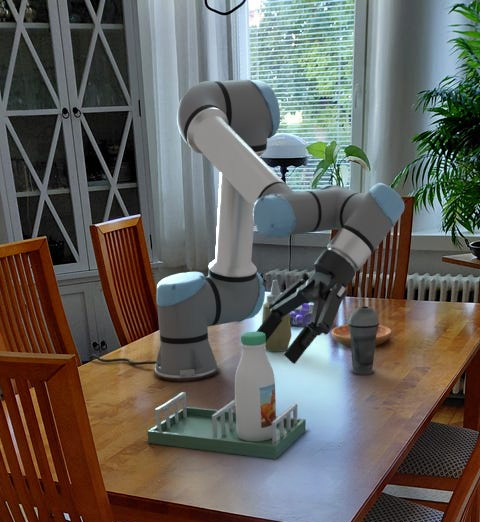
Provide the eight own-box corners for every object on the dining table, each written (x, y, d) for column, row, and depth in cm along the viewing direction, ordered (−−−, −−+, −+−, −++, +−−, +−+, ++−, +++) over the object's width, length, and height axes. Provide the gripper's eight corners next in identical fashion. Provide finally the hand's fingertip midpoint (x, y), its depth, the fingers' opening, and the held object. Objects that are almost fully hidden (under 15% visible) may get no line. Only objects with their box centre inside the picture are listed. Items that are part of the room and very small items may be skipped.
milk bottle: (248, 445, 164) (244, 341, 156) (230, 433, 171) (225, 332, 162) (283, 437, 168) (281, 334, 159) (264, 426, 174) (261, 326, 165)
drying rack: (148, 443, 171) (145, 412, 168) (186, 417, 184) (183, 388, 181) (275, 459, 160) (274, 426, 157) (305, 431, 173) (305, 400, 170)
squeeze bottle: (297, 347, 232) (296, 278, 224) (282, 354, 226) (280, 284, 218) (271, 344, 236) (269, 276, 228) (255, 351, 230) (253, 282, 222)
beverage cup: (376, 376, 205) (379, 290, 196) (345, 375, 206) (347, 290, 198) (378, 367, 211) (381, 284, 203) (348, 367, 213) (349, 284, 204)
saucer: (394, 347, 228) (395, 336, 226) (333, 349, 228) (334, 338, 227) (386, 332, 242) (387, 322, 241) (329, 335, 243) (329, 324, 241)
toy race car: (290, 318, 262) (290, 296, 260) (333, 323, 254) (333, 301, 252) (272, 325, 256) (272, 303, 253) (316, 330, 248) (316, 307, 245)
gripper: (390, 283, 155) (317, 378, 156) (320, 264, 175) (255, 348, 176) (366, 256, 150) (290, 354, 151) (296, 239, 171) (230, 325, 172)
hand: (271, 351), depth 164 cm, fingers open, 13 cm apart
